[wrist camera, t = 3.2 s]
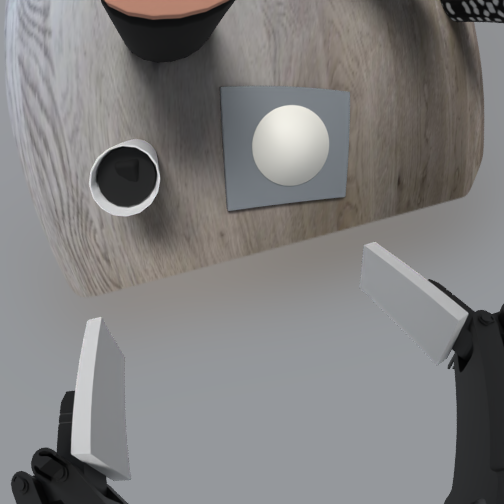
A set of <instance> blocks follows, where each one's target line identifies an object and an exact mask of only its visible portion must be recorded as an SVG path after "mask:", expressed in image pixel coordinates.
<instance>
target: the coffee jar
mask: <svg viewBox="0 0 504 504" xmlns="http://www.w3.org/2000/svg"><path fill="white" fill-rule="evenodd" d="M234 1H235V0H101V2H102V4H103V6H104V8H105V10H106V11H107V13H108V15H109V17H110V18H111V20H112V22H113V24H114V25H115V27H116V29H117V31H118V32H119V34H120V36H121V37H122V39H123V41H124V43H125V44H126V45H127V47H128V48H129V49H130V50H131V51H132V53H134V54H135V55H137V56H139V57H141V58H142V59H144V60H149V61H154V62H171V61H175V60H178V59H181V58H185V57H187V56H189V55H190V54H192V53H193V52H195V51H197V50H198V49H199V48H200V47H201V46H202V45H203V44H204V43H205V42H206V41H207V40H208V38H209V37H210V35H211V34H212V32H213V31H214V29H215V28H216V26H217V25H218V23H219V22H220V20H221V19H222V18H223V16H224V15H225V13H226V12H227V11H228V9H229V8H230V7H231V5H232V4H233V2H234Z"/></svg>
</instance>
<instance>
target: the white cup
mask: <svg viewBox="0 0 504 504" xmlns="http://www.w3.org/2000/svg"><path fill="white" fill-rule="evenodd" d="M159 183H160V172H159V165H158V158H157V154H156V151H155V149H154V148H153V147H152V145H151V144H149V143H148V142H146V141H144V140H140V139H132V140H129V141H125V142H123V143H120V144H118V145H116V146H113V147H111V148H108V149H107V150H106V151H105V152H103V153H102V154H101V155H100V156H99V157H98V158H97V159H96V161H95V163H94V165H93V167H92V169H91V171H90V180H89V186H90V190H91V193H92V196H93V199H94V200H95V201H96V202H97V204H98V205H99V206H100V207H101V209H103V210H105V211H107V212H109V213H111V214H112V215H118V216H130V215H134V214H137V213H140V212H141V211H143V210H144V209H145V208H147V207H148V206H149V205H151V203H152V201H153V200H154V198H155V196H156V195H157V193H158V189H159Z"/></svg>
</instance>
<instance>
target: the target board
mask: <svg viewBox="0 0 504 504" xmlns="http://www.w3.org/2000/svg"><path fill="white" fill-rule="evenodd" d="M220 101H221V122H222V140H223V157H224V173H225V189H226V203H227V210H228V211H232V210H239V209H246V208H253V207H261V206H268V205H276V204H284V203H293V202H301V201H310V200H319V199H329V198H338V197H345V194H346V182H347V168H348V150H349V124H350V92H346V91H338V90H329V89H318V88H305V87H287V86H229V87H220Z"/></svg>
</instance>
